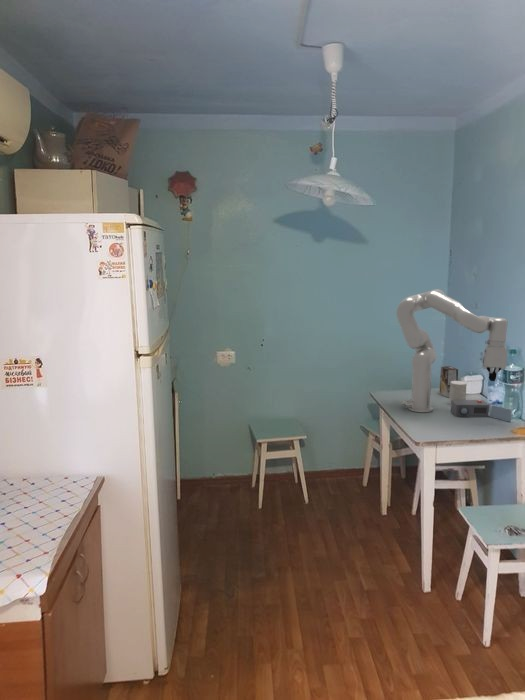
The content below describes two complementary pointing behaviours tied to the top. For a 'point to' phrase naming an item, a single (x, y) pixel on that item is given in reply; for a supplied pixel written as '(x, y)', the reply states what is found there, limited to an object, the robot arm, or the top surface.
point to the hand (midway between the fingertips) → (492, 380)
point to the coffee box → (447, 379)
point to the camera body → (470, 408)
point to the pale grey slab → (500, 412)
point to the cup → (457, 390)
